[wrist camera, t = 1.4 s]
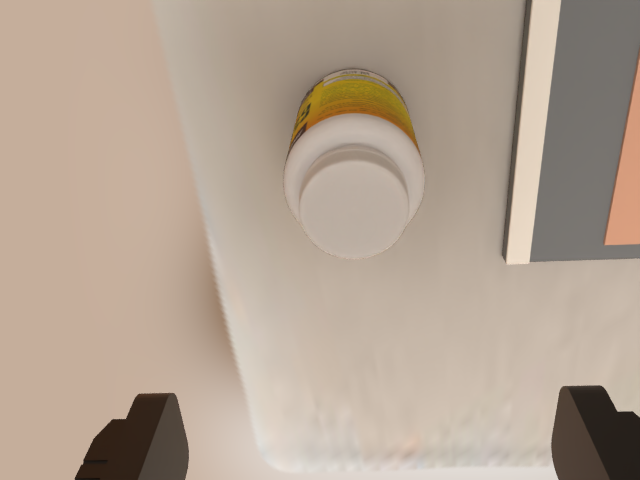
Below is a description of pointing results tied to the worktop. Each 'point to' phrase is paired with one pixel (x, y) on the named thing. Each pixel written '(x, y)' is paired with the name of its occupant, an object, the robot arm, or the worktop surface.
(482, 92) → the worktop surface
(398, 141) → the supplement bottle
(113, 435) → the robot arm
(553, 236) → the mat
